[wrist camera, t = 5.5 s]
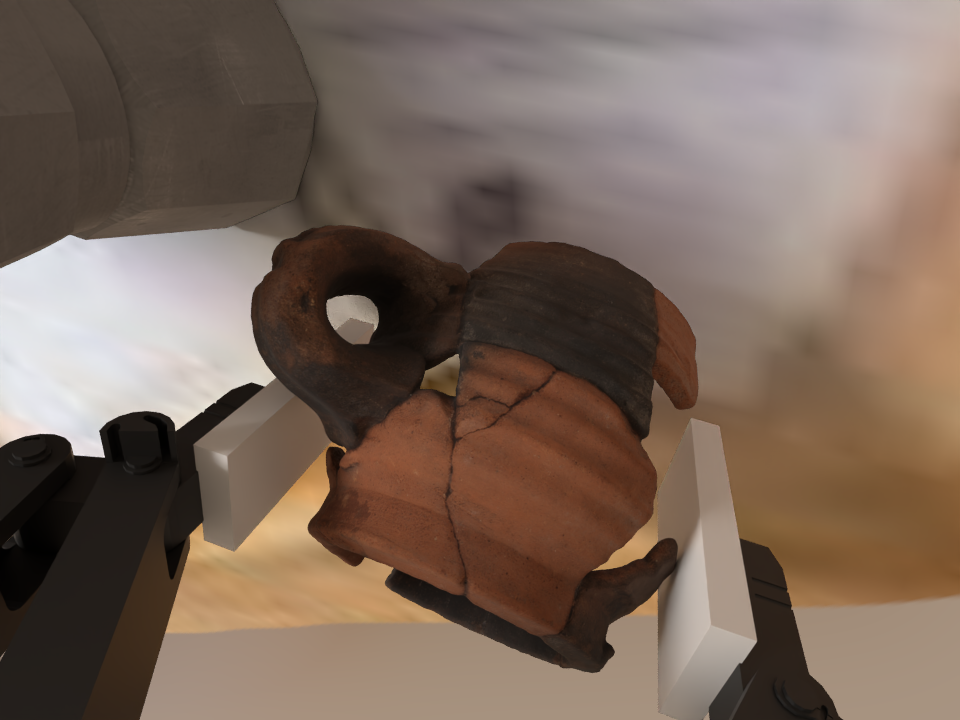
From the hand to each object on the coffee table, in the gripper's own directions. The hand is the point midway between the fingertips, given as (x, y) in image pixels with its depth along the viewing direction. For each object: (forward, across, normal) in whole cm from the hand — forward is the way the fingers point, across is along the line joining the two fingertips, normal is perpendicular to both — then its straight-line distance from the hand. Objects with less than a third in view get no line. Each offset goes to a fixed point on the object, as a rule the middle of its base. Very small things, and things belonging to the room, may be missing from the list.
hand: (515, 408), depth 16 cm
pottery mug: (+1, 0, +1) cm, 1 cm away
